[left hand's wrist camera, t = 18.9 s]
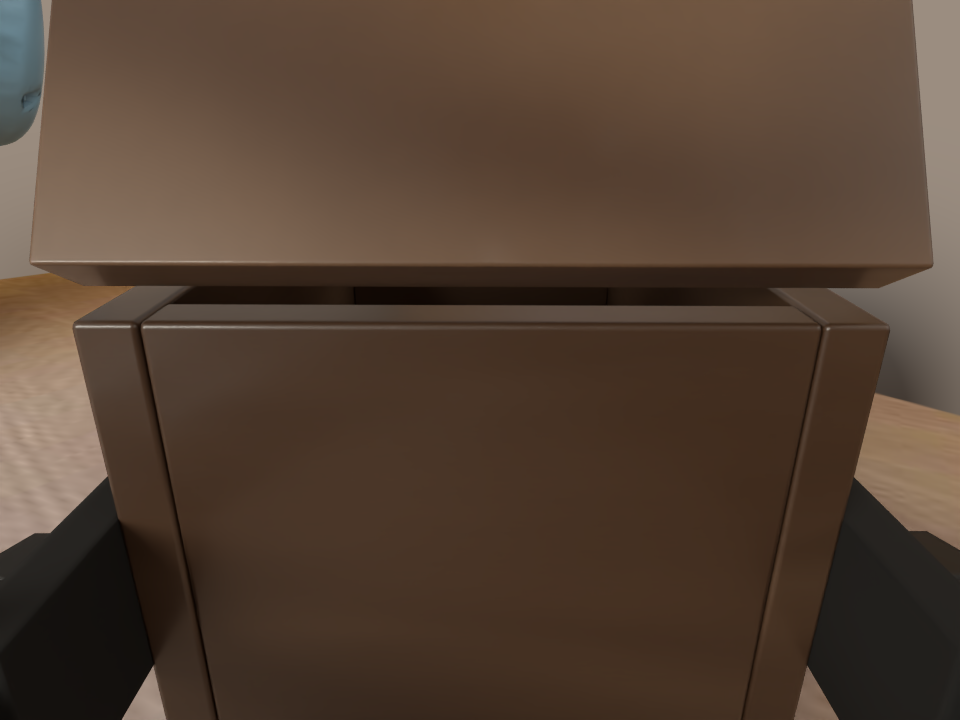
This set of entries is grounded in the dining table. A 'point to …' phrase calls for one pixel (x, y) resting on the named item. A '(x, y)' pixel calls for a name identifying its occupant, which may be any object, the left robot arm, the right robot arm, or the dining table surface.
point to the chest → (480, 494)
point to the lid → (482, 144)
